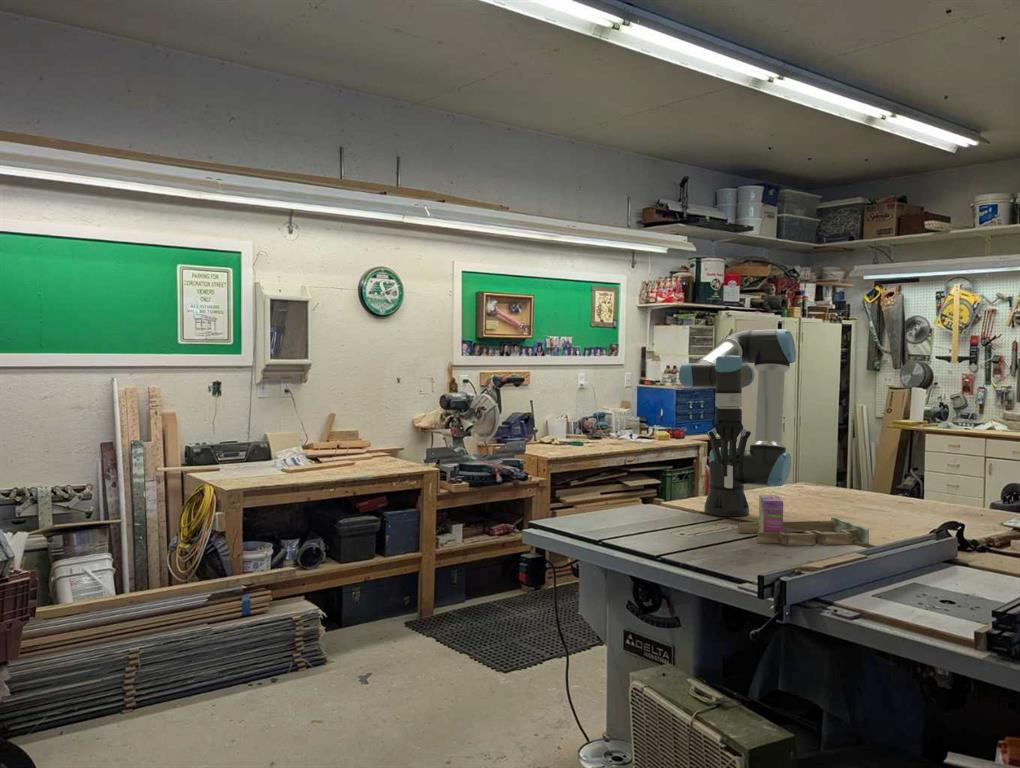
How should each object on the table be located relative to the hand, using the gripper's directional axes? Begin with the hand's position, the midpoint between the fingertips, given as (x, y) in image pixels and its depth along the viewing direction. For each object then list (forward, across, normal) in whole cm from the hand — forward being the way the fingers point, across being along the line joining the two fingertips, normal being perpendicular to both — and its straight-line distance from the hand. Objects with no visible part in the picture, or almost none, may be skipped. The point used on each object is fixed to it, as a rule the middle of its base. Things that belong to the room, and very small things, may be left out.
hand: (728, 487), depth 227 cm
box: (+15, +13, 0) cm, 20 cm away
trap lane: (+15, +22, -2) cm, 26 cm away
